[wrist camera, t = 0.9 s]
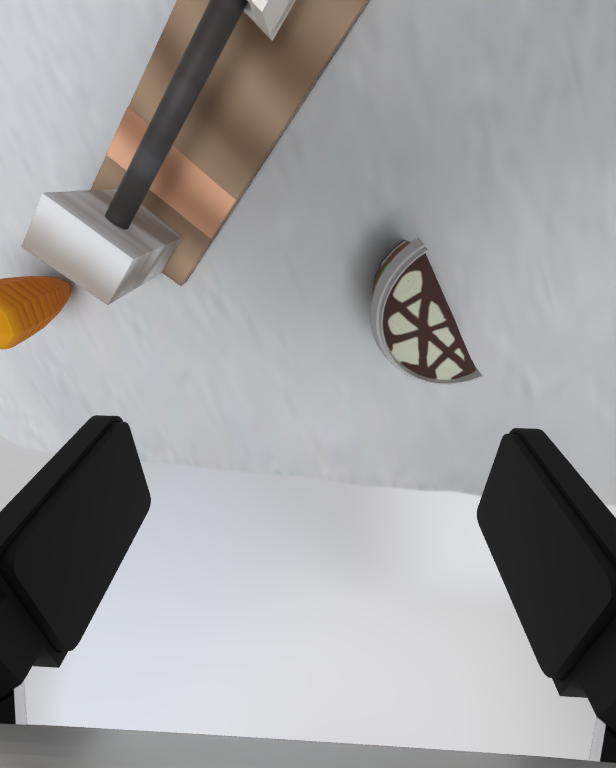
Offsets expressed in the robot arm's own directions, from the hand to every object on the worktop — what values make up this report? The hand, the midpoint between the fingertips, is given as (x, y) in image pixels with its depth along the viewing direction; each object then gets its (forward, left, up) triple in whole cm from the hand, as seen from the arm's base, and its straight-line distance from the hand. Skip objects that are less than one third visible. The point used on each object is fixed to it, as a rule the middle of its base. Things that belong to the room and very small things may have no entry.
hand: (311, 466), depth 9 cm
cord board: (-4, -13, -29) cm, 32 cm away
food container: (-2, +9, -29) cm, 30 cm away
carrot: (+18, -17, -29) cm, 38 cm away
